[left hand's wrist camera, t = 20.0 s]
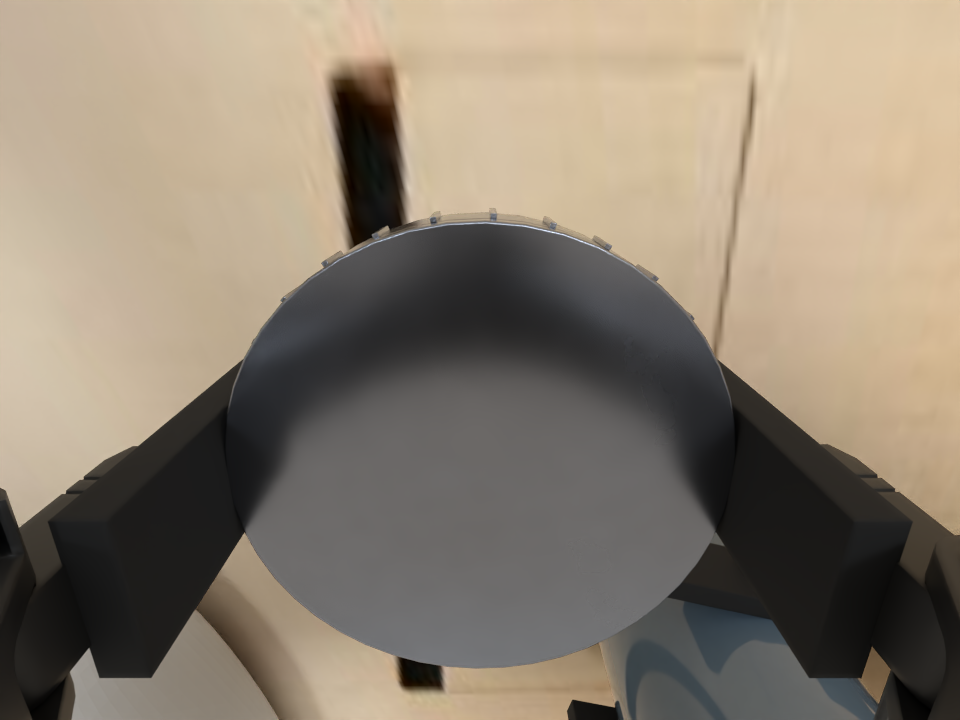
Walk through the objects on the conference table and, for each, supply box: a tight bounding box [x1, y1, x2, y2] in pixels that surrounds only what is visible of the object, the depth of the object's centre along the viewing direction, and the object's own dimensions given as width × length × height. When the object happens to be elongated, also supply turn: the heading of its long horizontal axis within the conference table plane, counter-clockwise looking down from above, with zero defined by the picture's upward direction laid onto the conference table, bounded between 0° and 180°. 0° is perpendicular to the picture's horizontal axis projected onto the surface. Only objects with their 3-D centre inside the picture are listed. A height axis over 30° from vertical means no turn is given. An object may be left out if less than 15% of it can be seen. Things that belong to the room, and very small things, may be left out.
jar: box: [599, 532, 879, 720], centre depth 21 cm, size 9×9×15 cm
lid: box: [224, 208, 736, 668], centre depth 11 cm, size 10×10×2 cm
